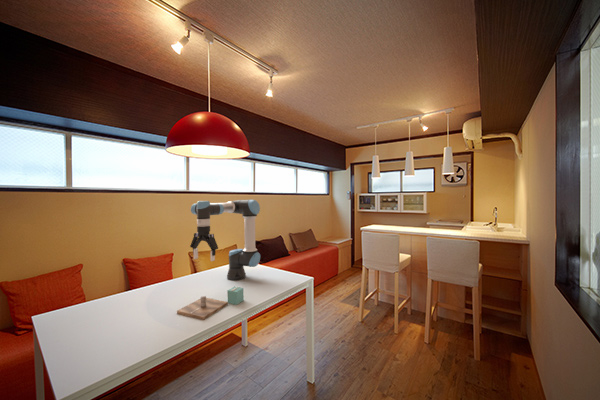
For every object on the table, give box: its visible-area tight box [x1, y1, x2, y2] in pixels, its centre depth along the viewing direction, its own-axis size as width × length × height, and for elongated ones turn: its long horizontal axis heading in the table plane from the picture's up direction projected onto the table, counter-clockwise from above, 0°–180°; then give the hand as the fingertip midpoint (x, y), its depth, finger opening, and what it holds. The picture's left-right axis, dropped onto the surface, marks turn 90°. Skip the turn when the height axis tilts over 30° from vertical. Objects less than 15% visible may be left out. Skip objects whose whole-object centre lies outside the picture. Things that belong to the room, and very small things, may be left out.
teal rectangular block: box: [227, 286, 244, 306], centre depth 151 cm, size 7×7×9 cm
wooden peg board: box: [176, 295, 229, 320], centre depth 142 cm, size 20×20×7 cm
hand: (204, 259), depth 148 cm, fingers open, 13 cm apart
